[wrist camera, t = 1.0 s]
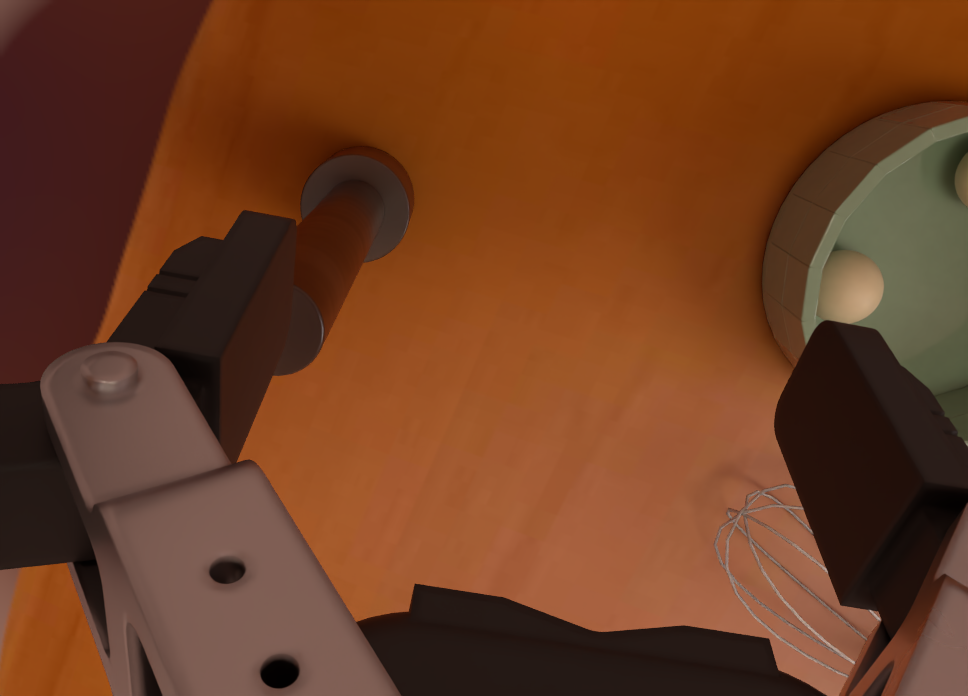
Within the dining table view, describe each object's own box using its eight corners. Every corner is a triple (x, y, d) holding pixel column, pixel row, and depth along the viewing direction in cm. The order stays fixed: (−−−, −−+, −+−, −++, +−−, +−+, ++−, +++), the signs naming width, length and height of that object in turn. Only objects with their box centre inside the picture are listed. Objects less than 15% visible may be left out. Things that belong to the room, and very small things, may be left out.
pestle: (309, 145, 35) (164, 236, 18) (412, 146, 35) (362, 235, 18) (316, 247, 37) (188, 416, 20) (415, 246, 37) (371, 415, 20)
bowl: (782, 100, 35) (831, 108, 30) (1112, 100, 35) (1210, 109, 31) (745, 406, 40) (782, 454, 35) (1035, 405, 40) (1110, 452, 35)
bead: (796, 242, 37) (826, 259, 34) (868, 242, 37) (904, 259, 34) (787, 311, 38) (815, 334, 35) (857, 311, 38) (891, 334, 35)
